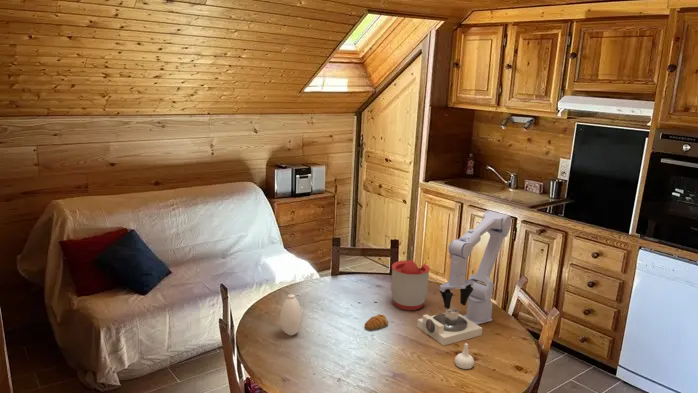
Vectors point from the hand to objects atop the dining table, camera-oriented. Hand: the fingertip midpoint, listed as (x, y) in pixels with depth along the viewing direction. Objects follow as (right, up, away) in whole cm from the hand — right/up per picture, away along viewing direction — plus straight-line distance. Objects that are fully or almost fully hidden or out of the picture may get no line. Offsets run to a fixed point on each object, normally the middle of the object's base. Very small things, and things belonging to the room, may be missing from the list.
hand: (455, 306), depth 195 cm
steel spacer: (-1, -6, +1) cm, 6 cm away
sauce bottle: (-61, -10, -4) cm, 62 cm away
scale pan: (-2, -7, +2) cm, 7 cm away
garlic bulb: (-1, -16, -20) cm, 26 cm away
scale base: (-2, -10, +3) cm, 10 cm away
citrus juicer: (-14, -5, +25) cm, 29 cm away
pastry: (-29, -9, +5) cm, 31 cm away
